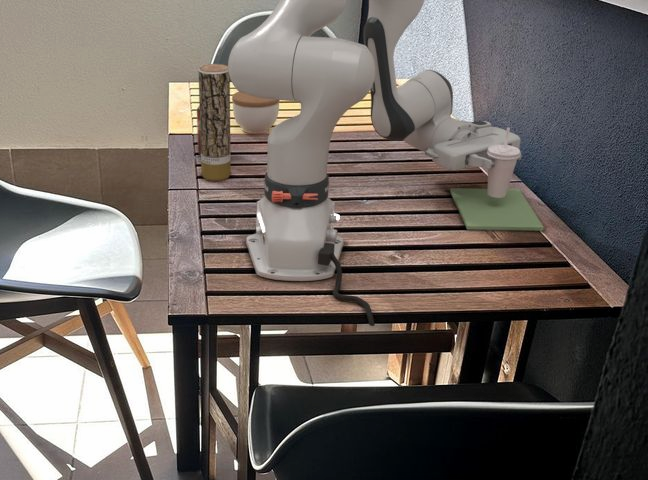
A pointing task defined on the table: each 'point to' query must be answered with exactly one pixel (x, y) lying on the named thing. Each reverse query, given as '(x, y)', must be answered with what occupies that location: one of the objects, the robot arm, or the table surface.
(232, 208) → the table surface
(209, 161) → the paper tube
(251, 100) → the lidded bowl
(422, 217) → the table surface
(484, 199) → the pad
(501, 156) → the smoothie
